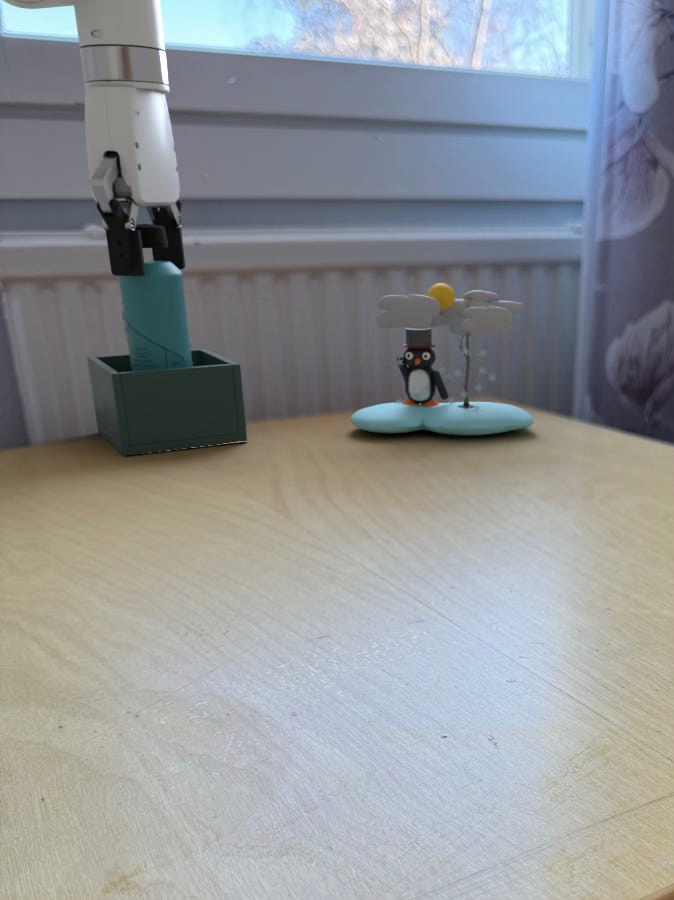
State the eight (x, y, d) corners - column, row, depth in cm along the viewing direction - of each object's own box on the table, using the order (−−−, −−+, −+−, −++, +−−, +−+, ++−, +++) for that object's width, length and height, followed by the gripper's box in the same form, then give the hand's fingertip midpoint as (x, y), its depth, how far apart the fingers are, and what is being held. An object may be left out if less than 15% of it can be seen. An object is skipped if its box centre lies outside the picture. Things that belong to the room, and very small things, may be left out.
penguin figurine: (344, 439, 105) (336, 288, 99) (360, 418, 115) (354, 279, 109) (533, 442, 105) (537, 290, 98) (533, 421, 114) (537, 281, 108)
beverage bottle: (206, 421, 109) (184, 223, 101) (194, 434, 103) (170, 225, 95) (146, 421, 109) (119, 223, 100) (130, 435, 102) (100, 225, 94)
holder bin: (123, 456, 98) (111, 374, 95) (98, 432, 108) (86, 356, 105) (247, 442, 104) (240, 364, 101) (212, 420, 114) (205, 348, 111)
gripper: (130, 83, 101) (152, 266, 108) (37, 63, 85) (70, 278, 92) (201, 83, 100) (218, 267, 107) (120, 62, 84) (147, 279, 91)
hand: (150, 271), depth 99 cm, fingers open, 8 cm apart
